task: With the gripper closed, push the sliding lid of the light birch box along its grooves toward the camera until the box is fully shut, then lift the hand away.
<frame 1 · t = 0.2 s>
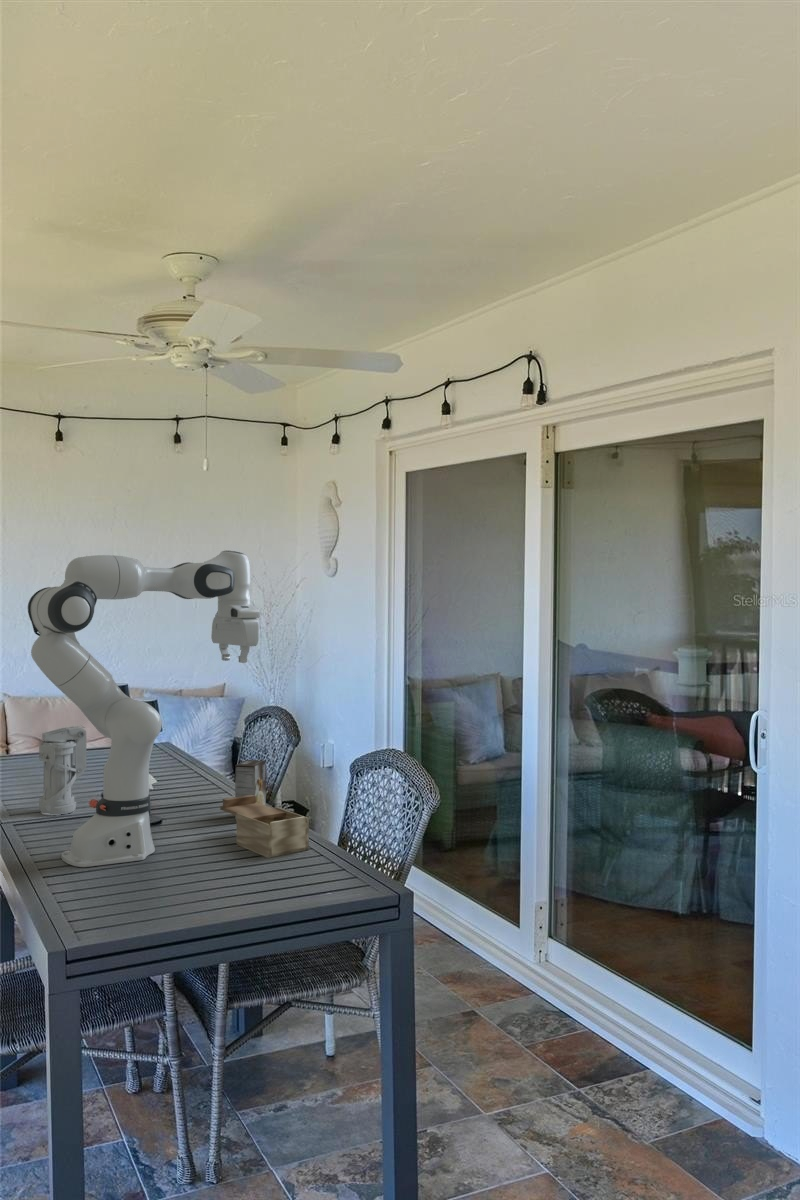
hand: (234, 661, 266), 47 cm above the table, fingers open, 8 cm apart
crate: (272, 847, 253), on the table
lid: (252, 807, 261), point 8 cm above the table, slide at 9.0 cm
lantern: (62, 812, 291), on the table
coffee box: (250, 817, 286), on the table
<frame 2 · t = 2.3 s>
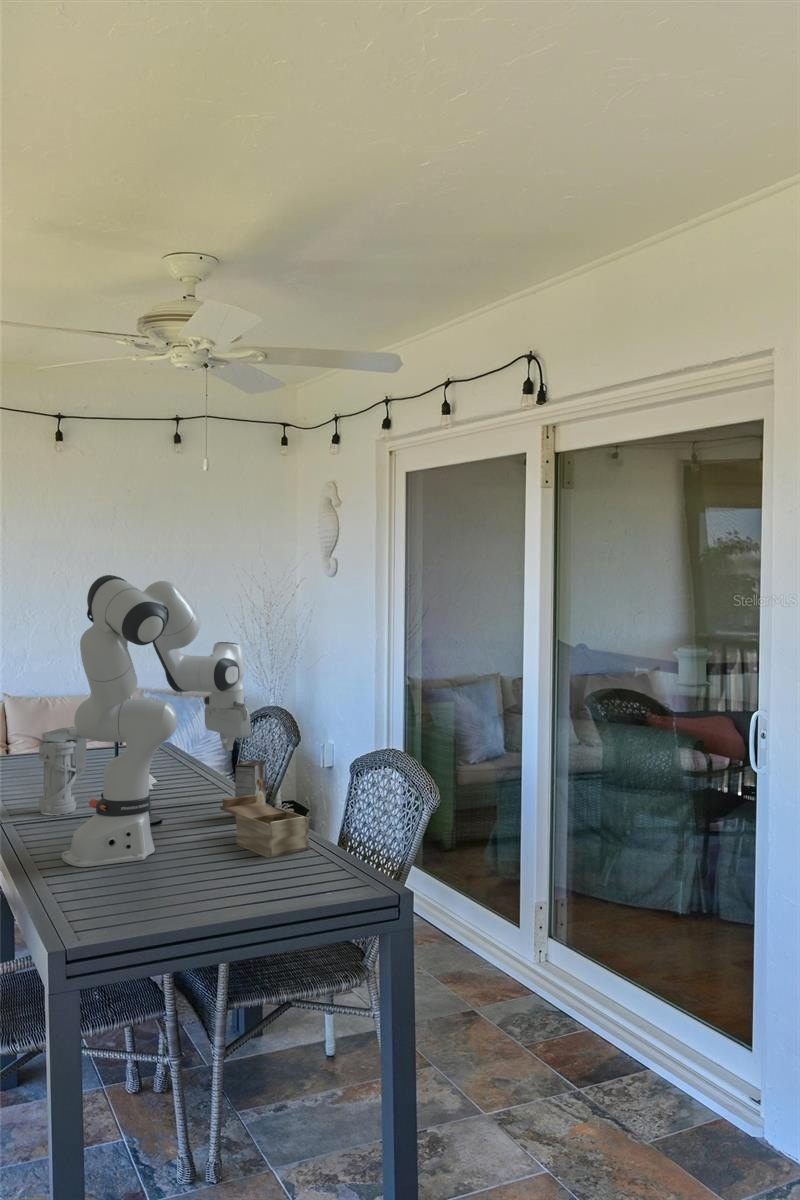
hand: (227, 749, 272), 22 cm above the table, fingers closed
nothing on the table moved.
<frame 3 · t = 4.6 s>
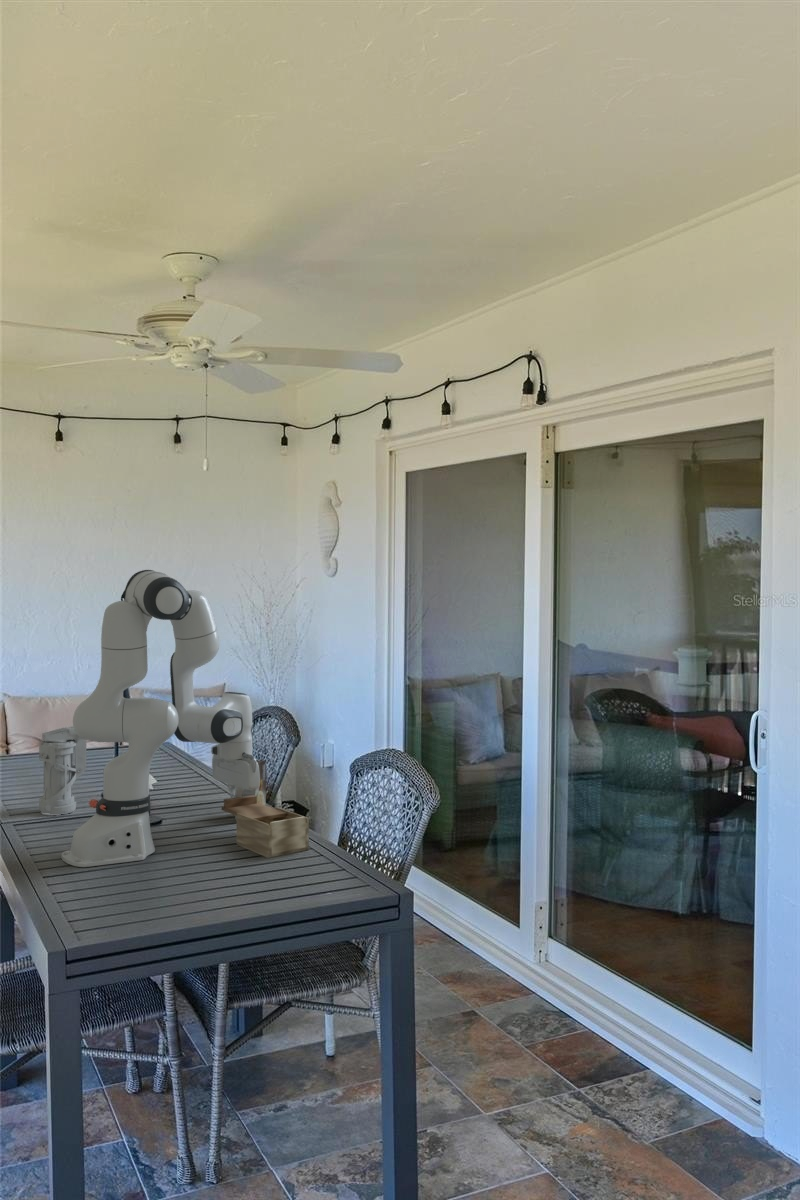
hand: (235, 801, 268), 9 cm above the table, fingers closed
lid: (253, 807, 260), point 8 cm above the table, slide at 8.4 cm, touching gripper
everything else where it was.
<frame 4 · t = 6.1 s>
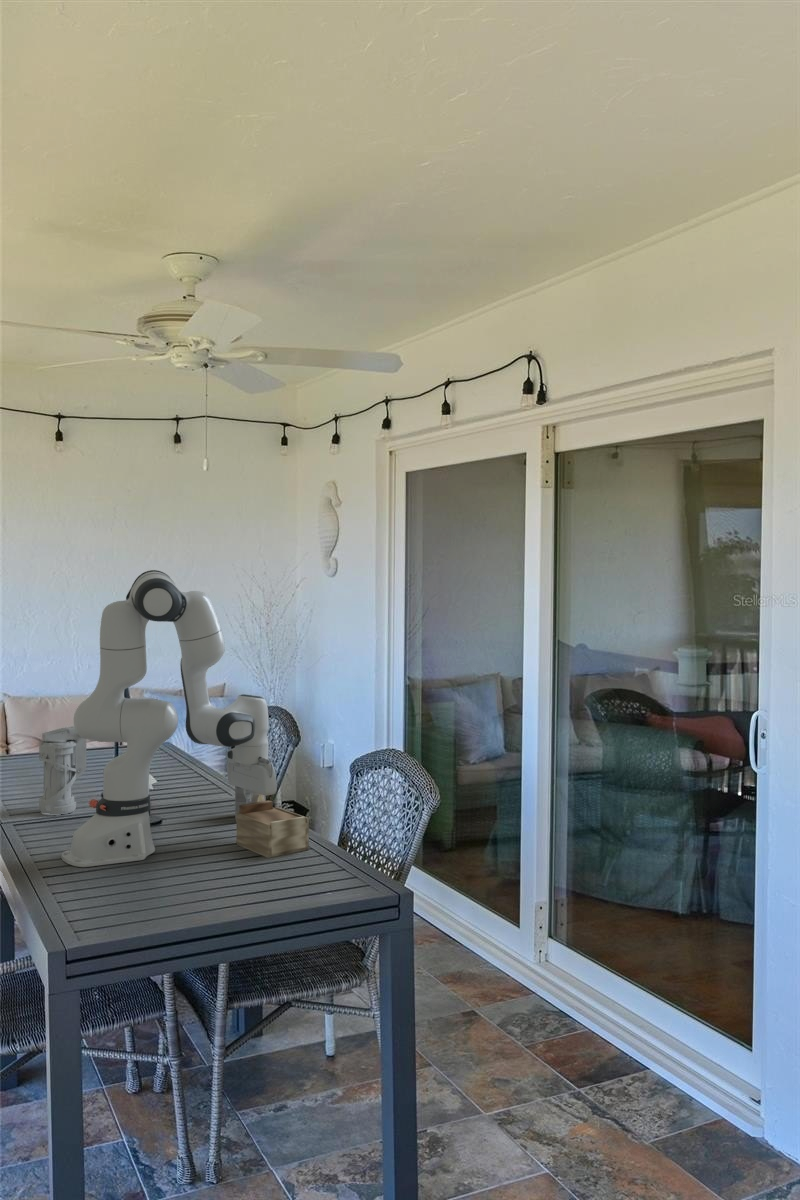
hand: (251, 806, 261), 9 cm above the table, fingers closed
lid: (270, 813, 254), point 8 cm above the table, slide at 0.0 cm, touching gripper
everything else where it was.
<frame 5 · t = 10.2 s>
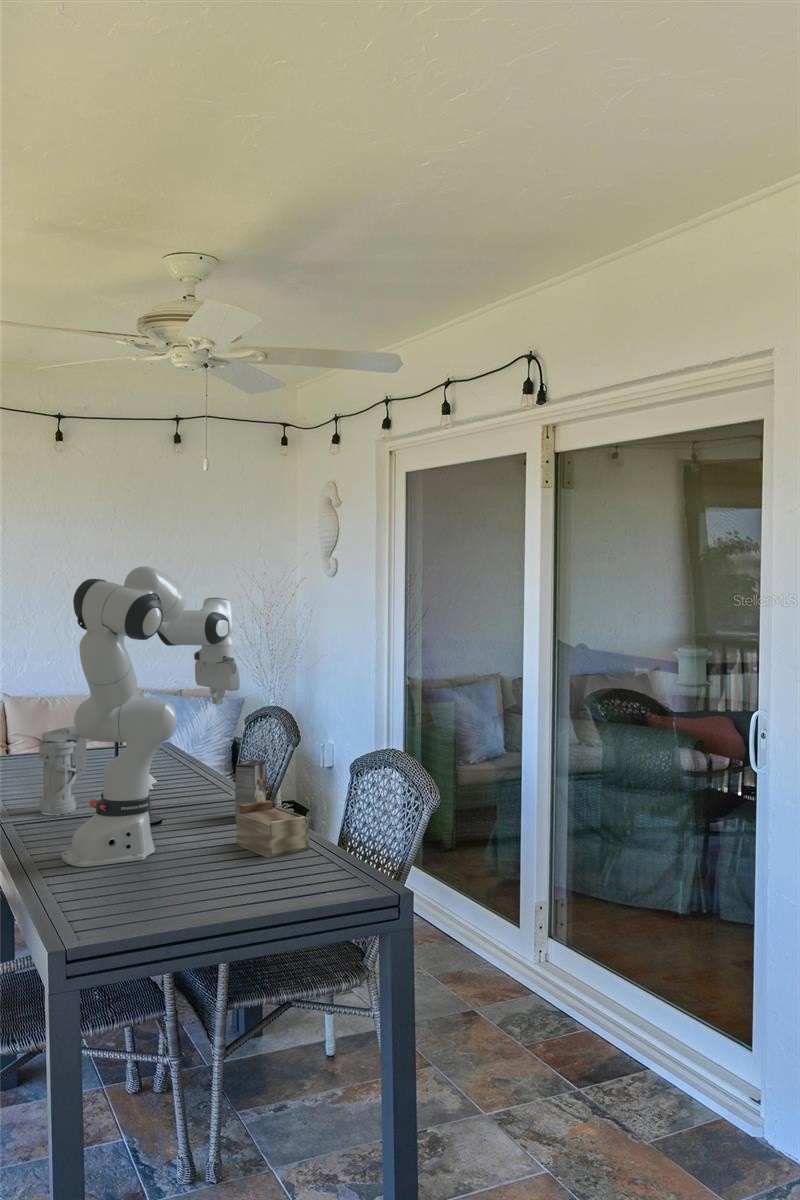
hand: (217, 704, 276), 34 cm above the table, fingers closed
lid: (270, 813, 254), point 8 cm above the table, slide at 0.0 cm
everything else where it was.
at the end: lid slide at 0.0 cm; the gripper is holding nothing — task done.
